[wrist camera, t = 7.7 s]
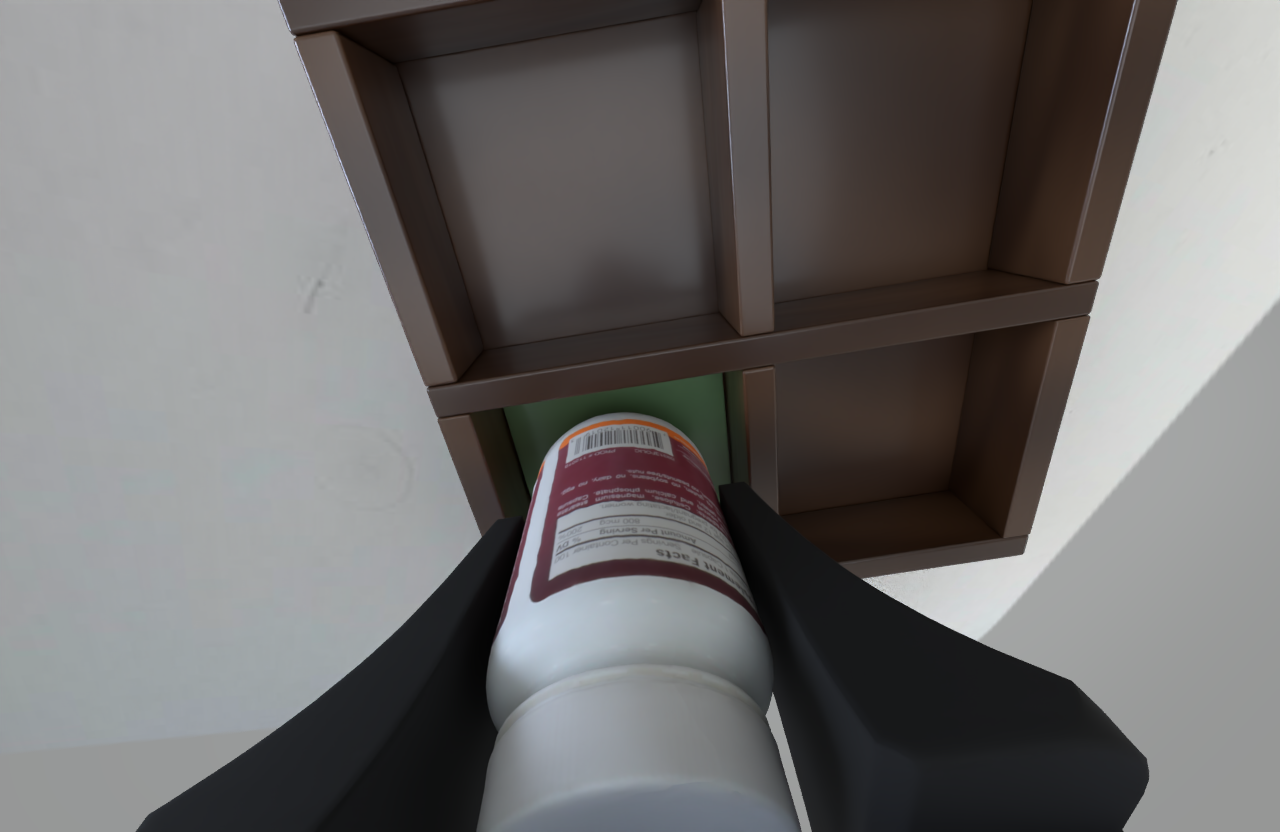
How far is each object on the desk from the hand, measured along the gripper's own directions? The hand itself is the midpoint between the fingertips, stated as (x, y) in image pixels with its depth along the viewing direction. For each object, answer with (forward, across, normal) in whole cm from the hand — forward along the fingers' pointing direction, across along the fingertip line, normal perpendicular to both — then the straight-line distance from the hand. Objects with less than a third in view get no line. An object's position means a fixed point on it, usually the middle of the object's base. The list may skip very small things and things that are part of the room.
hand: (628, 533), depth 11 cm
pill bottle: (+2, 0, 0) cm, 2 cm away
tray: (+4, -4, -4) cm, 7 cm away
